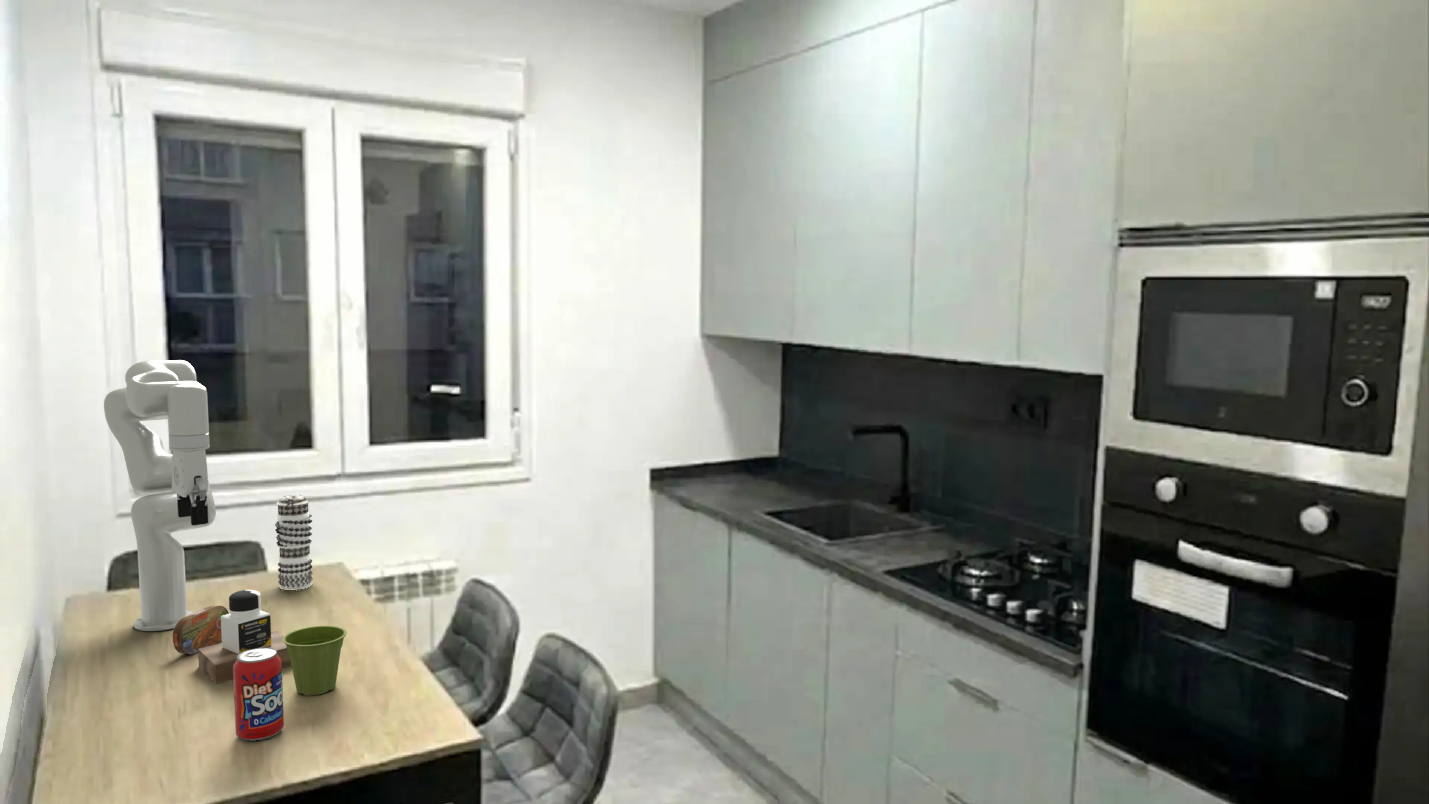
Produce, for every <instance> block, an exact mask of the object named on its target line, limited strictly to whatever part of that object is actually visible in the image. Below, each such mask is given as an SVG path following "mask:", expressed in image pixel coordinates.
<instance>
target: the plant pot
mask: <svg viewBox="0 0 1429 804" xmlns="http://www.w3.org/2000/svg"><path fill="white" fill-rule="evenodd" d="M347 634H348V633H347V630H346V629H345V628H343V627H340V626H335V625H314V626H306V627H303V628H299V629H296V630H292V631H290V632H288V633H287V634H285V635H283V636H284V637H283V639H282V640H283V642H284V643H285V644H286V647H287V651H288V653H289V656H290V660H291V665H290V666H291V669H292V674H293V679H294V685H295V690H296V692H297V693H298V694H303V695H304V696H310V697H311V696H317V695H318V696H319V695H323V694H325V693H327V692H328V691H330V690H331V691H332V690H334V689H335V688H336V683H337V677H338V670H339V664H340V657H341V652H342V651H341V650H342V647H343V643H344V639H345V637H346V636H347Z"/></svg>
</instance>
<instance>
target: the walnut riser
mask: <svg viewBox="0 0 1429 804" xmlns="http://www.w3.org/2000/svg"><path fill="white" fill-rule="evenodd" d="M284 636H285V635H283V634H281V633H280V632H279V631H278V630H274V631H271V645H270V646H267V647H264V648H273V649H275V650H277V655H278V656H279V657H280V658H281V660H282V668H285V667H289V666H292V665H291V660H290V656H289V653H288V651H287V647H286V644H285V643H284V642H283V640H282V639H283V637H284ZM238 655H239V654H237V653H234V652H232V651H229V650H227V649H224V648H222V642H220V643H216V644H214V645H212V646H208V647H204V648H199V649H198V653H197V657H198V658H197V659H198V667H199V669H200V670H202V672H203V673H204V674H205V675H206V676H208V677H209V678H210V679H211V680H212V681H213V682H214V683H215V684H217V685H218V684H221V683H222V684H223V683H225V682H229V681H233V665H234V664H235V662H236V661H237V656H238Z"/></svg>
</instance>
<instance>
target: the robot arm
mask: <svg viewBox="0 0 1429 804" xmlns="http://www.w3.org/2000/svg"><path fill="white" fill-rule="evenodd" d="M124 379H125V384H126V386H125V387H122V388H117V389H115V390H112V391H110V392H108V393H107V394H106V396H105V398H104V400H103V411H104V417H105V420H106V423H107V425H108V429H109V430H110V431H111V433H112V435H113V436H114V438H115V439H116V441H117V442H118V444H119V446H120V447H121V450H122V453H123V457H124V461H125V465H126V471H127V474H128V477H129V478H128V479H129V482H130V485H131V487H132V489H133V491H135V493H137V494H139V495H144V496H142V497H139V498H138V499H136V500H135V501H134V502H133V504H132V506H131V508H130V515H131V516H130V518H131V523H132V525H133V531H134V535H135V539H136V540H135V541H136V548H137V561H138V564H137V565H138V580H139V582H138V583H139V597H140V603H139V604H140V616H139V617H138V618H137V619H135V620H134V621H133V628H134V629H136V630H137V631H143V632H158V631H161V632H162V631H167V630H172V629H173V630H174V628H175V626H176V624H177V623H178V622H179V621H180V620H181V619H182V618H184V617H186V616H189V615H191V614H193V613H194V612H193V611H191V610H188V605H187V603H188V602H187V584H186V583H187V582H186V562H185V561H186V560H185V550H184V547H183V545H182V544H181V543H180V542H179V541H178V540H177V539H176V538H174V537H173V536H172V533H177V532H180V531H181V532H182V531H188V530H195V529H202V528H205V527H206V528H207V527H209V526H210V525H212V524H213V523H214V522H215V519H216V512H217V510H216V508H217V507H216V504H215V499H214V495H213V492H212V489H211V485H210V481H209V474H208V461H207V454H206V450H208V449H210V430H209V429H210V425H209V405H208V403H209V402H208V392H207V388H206V387H205V386H204V385H202V384H201V383H199V382H198V381H197V380H198V379H197V373H196V371H195V368H194V367H193V366H192V365H191V363H189V362H188V361H186V360H182V359H178V360H177V359H176V360H175V359H174V360H145V361H140V362H136V363H133V364H132V365H131V366H130V367H129V368H128V369H127V371H126V373H125V376H124ZM157 420H158V421H161V420H167V424H168V446H169V449H168V450H169V451H171V452H172V453H167V452H166V451H165V449H164V448H165V447H164V444H163V440H162V438H161V437H160V436H159V435H158V434H157V433H156V432H154V431H153V430H152V429H151V428H149V427H148V426H146V425H144V424H143V423H141V422H143V421H144V422H145V421H146V422H147V421H157Z"/></svg>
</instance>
